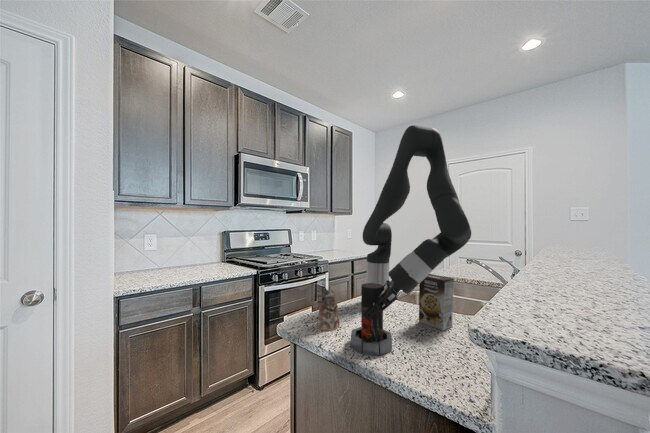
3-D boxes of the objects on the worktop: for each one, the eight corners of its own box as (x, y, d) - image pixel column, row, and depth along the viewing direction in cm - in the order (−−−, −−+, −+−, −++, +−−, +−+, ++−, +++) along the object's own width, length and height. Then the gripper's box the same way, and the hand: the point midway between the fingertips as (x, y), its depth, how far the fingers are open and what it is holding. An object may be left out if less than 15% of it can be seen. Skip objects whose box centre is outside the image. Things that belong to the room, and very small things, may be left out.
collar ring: (352, 335, 84) (353, 325, 84) (390, 338, 82) (390, 328, 82) (349, 352, 74) (349, 341, 74) (392, 357, 72) (392, 345, 72)
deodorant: (386, 342, 76) (387, 287, 76) (366, 345, 74) (366, 288, 74) (376, 334, 82) (376, 282, 82) (357, 336, 80) (358, 283, 80)
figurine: (322, 332, 87) (323, 293, 87) (313, 324, 93) (314, 288, 93) (343, 328, 90) (343, 291, 90) (332, 320, 96) (333, 285, 96)
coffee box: (417, 322, 95) (418, 275, 95) (428, 318, 99) (428, 272, 99) (443, 331, 88) (444, 280, 88) (453, 326, 92) (454, 277, 92)
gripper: (397, 258, 84) (357, 296, 86) (402, 266, 70) (354, 311, 72) (416, 276, 83) (375, 314, 85) (424, 288, 69) (375, 333, 71)
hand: (365, 312), depth 78 cm, fingers closed on deodorant, 6 cm apart
